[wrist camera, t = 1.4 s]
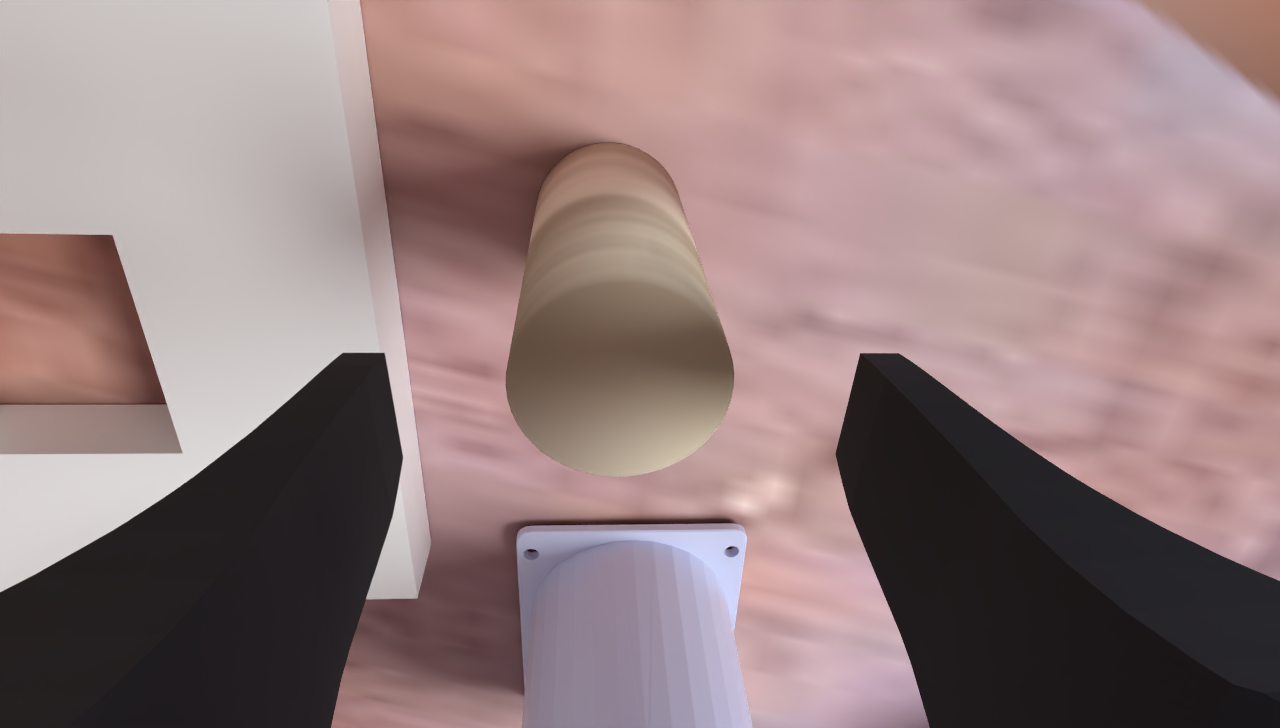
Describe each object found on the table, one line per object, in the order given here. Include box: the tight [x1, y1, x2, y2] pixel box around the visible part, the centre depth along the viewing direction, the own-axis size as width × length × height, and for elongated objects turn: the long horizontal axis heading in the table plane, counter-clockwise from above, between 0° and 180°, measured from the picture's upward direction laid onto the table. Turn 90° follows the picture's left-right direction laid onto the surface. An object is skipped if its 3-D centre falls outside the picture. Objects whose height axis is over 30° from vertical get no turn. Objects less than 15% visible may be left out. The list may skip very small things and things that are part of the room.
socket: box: [0, 0, 431, 599], centre depth 21 cm, size 18×18×2 cm
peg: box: [506, 143, 734, 477], centre depth 17 cm, size 4×4×9 cm
